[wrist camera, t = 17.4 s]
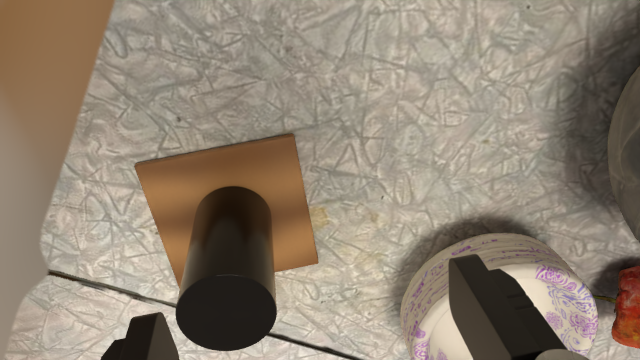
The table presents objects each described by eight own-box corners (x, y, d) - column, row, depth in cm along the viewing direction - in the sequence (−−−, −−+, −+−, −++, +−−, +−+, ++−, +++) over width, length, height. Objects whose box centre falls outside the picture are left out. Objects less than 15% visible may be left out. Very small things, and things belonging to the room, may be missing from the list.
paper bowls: (356, 293, 45) (374, 360, 38) (485, 180, 41) (532, 232, 34) (457, 365, 51) (489, 435, 44) (579, 272, 47) (635, 333, 40)
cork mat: (135, 162, 37) (133, 166, 37) (293, 132, 38) (293, 135, 37) (181, 286, 43) (180, 291, 42) (318, 259, 43) (318, 263, 43)
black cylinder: (186, 194, 38) (162, 285, 28) (262, 179, 38) (265, 265, 29) (206, 256, 41) (191, 359, 31) (278, 242, 41) (285, 340, 31)
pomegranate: (575, 305, 52) (689, 338, 48) (567, 344, 46) (697, 386, 42) (589, 242, 50) (712, 270, 45) (583, 275, 44) (724, 311, 39)
